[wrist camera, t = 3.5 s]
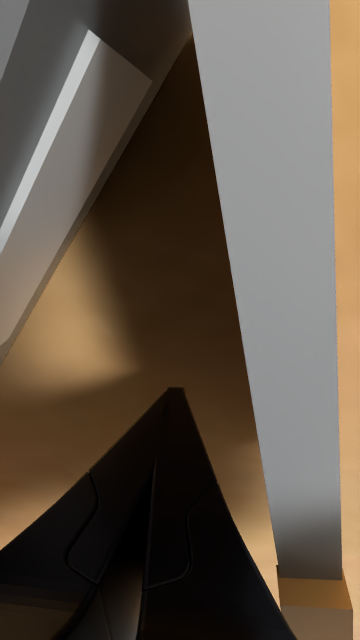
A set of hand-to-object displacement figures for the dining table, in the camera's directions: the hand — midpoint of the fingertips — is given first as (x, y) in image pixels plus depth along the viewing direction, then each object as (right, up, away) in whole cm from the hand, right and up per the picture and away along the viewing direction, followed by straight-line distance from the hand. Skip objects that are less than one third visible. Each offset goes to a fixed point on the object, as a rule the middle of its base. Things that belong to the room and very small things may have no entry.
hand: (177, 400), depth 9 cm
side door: (+2, +3, -1) cm, 4 cm away
